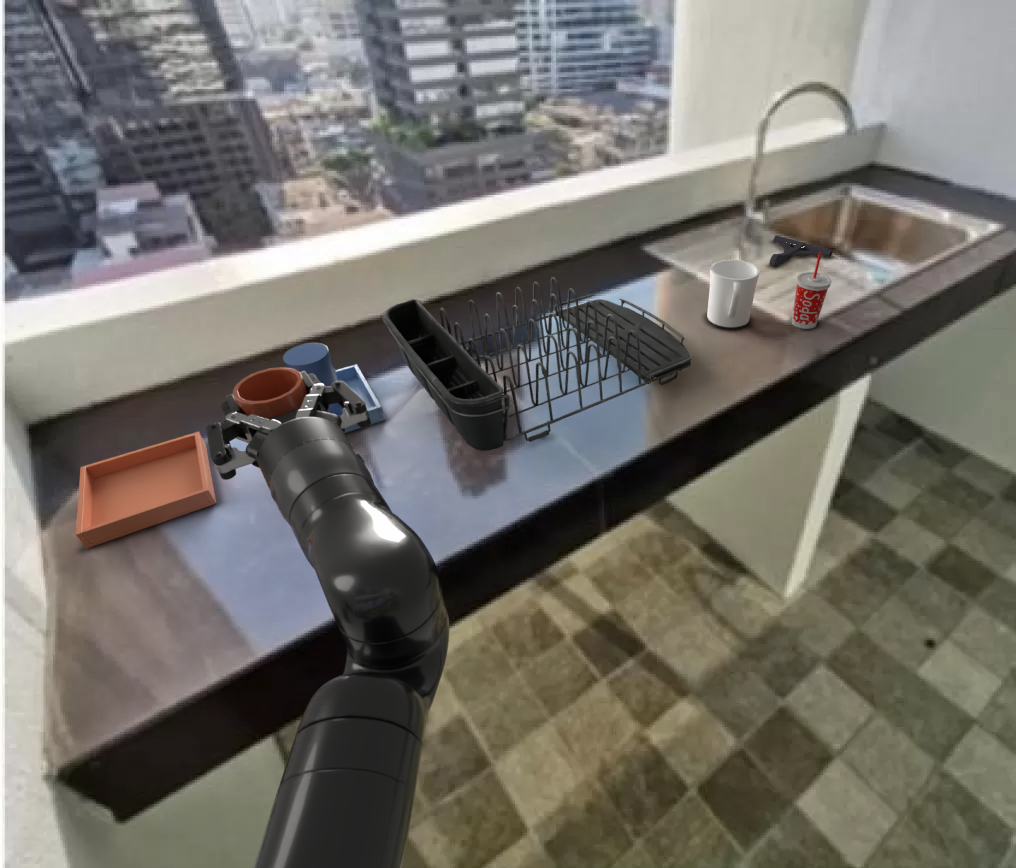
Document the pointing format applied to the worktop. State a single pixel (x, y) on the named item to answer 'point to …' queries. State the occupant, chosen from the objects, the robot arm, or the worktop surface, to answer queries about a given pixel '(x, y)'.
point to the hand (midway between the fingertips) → (269, 390)
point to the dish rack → (479, 397)
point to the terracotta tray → (143, 489)
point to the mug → (731, 293)
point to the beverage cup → (809, 297)
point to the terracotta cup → (270, 392)
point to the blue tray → (361, 393)
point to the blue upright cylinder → (314, 365)
